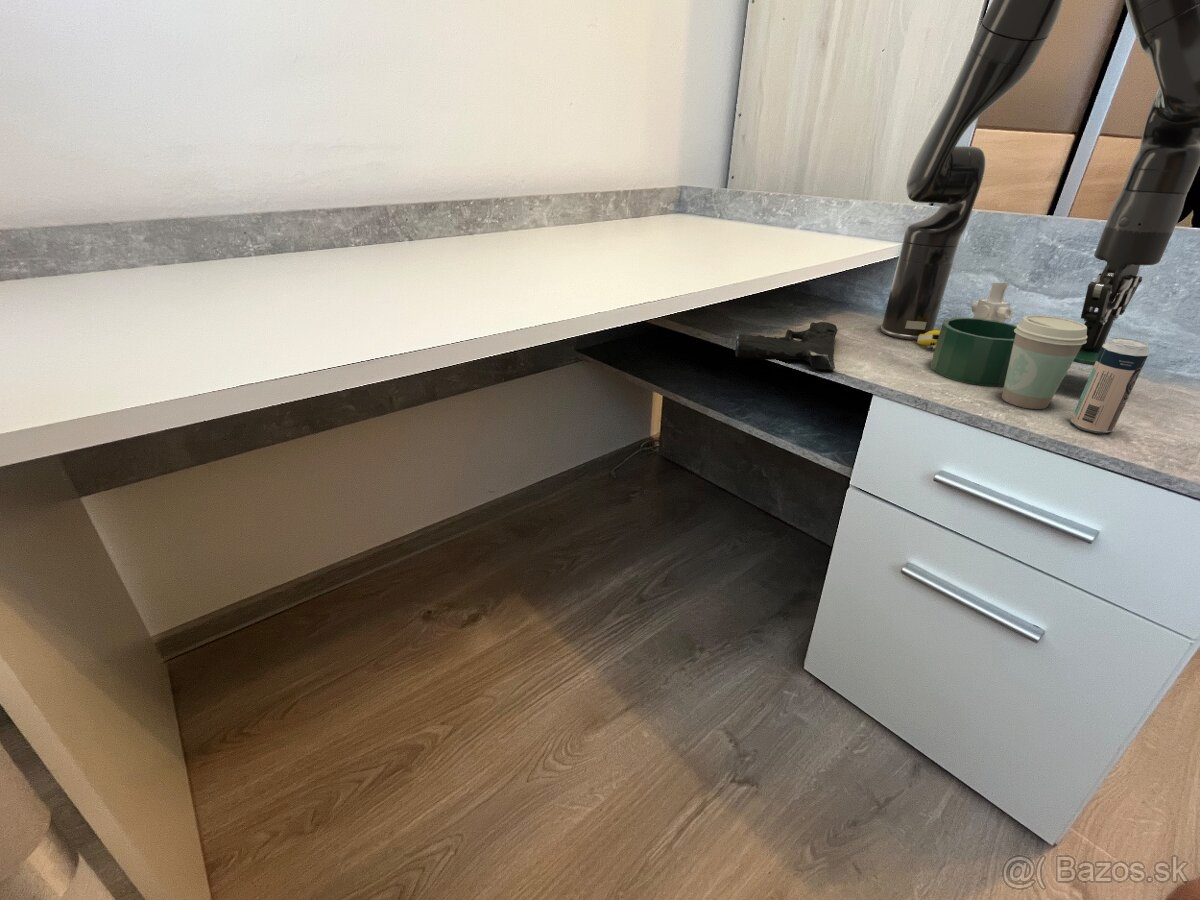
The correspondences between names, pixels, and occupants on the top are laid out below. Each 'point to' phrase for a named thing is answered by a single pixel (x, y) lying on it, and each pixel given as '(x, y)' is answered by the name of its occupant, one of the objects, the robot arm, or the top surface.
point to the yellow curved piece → (929, 338)
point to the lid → (1092, 354)
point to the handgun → (792, 346)
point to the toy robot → (993, 305)
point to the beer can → (1110, 384)
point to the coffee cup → (1041, 359)
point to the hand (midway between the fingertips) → (1090, 344)
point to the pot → (974, 350)
